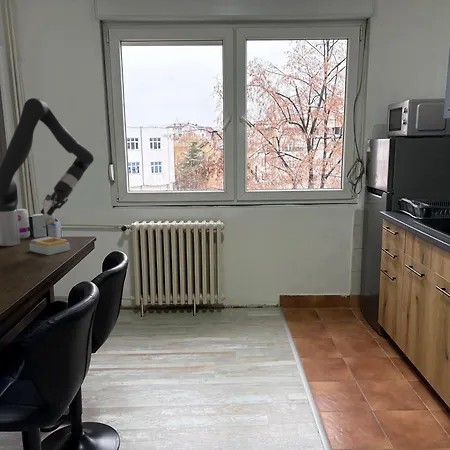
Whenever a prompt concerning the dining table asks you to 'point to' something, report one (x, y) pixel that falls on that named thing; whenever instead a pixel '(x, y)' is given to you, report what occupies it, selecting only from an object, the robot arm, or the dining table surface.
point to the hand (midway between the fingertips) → (45, 213)
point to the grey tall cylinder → (46, 205)
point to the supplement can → (23, 223)
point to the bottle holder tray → (49, 245)
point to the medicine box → (54, 230)
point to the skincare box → (39, 225)
